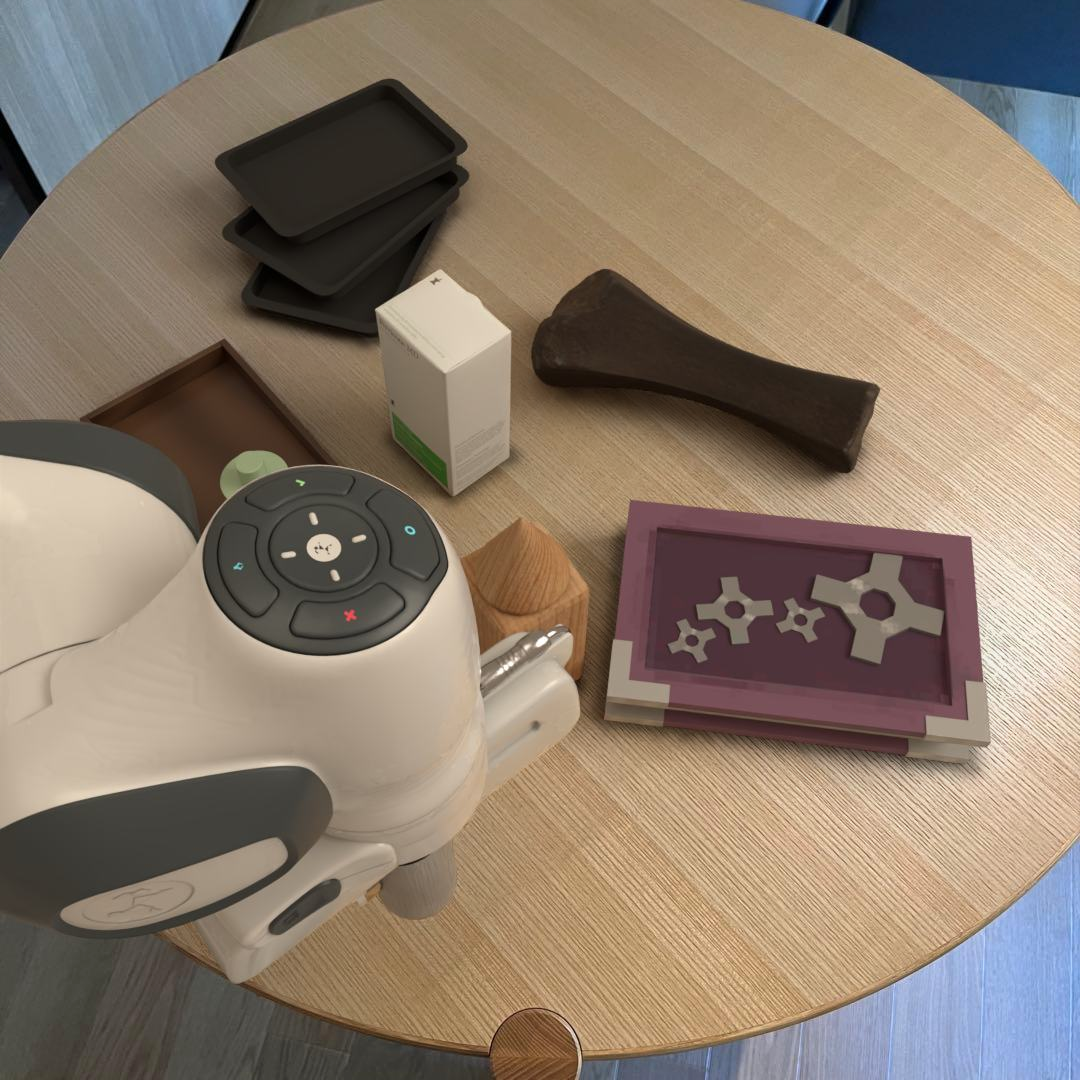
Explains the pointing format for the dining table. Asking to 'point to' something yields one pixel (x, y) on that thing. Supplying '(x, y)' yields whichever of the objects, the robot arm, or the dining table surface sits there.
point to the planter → (421, 885)
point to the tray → (343, 205)
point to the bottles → (248, 470)
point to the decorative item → (527, 589)
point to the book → (799, 632)
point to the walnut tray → (210, 421)
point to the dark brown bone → (696, 369)
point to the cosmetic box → (447, 380)
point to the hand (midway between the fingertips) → (408, 851)
